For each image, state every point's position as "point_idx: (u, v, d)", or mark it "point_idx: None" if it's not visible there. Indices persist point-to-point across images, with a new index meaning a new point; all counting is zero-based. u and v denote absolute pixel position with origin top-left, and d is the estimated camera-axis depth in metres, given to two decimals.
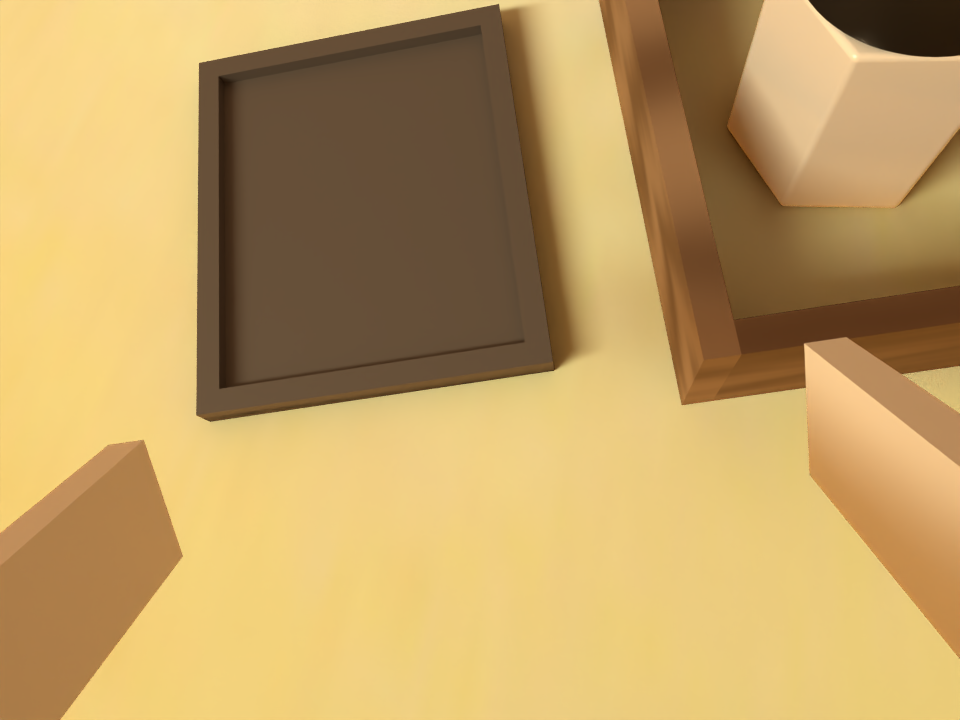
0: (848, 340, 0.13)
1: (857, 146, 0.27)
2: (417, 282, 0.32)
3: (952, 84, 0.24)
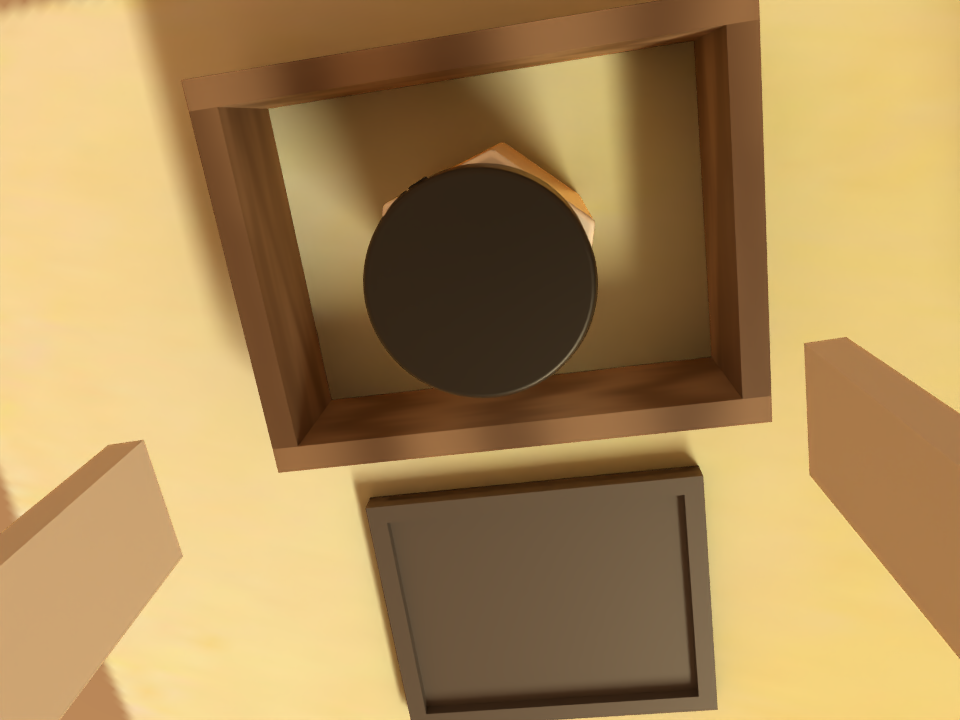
0: (849, 340, 0.13)
1: None
2: (620, 564, 0.41)
3: None
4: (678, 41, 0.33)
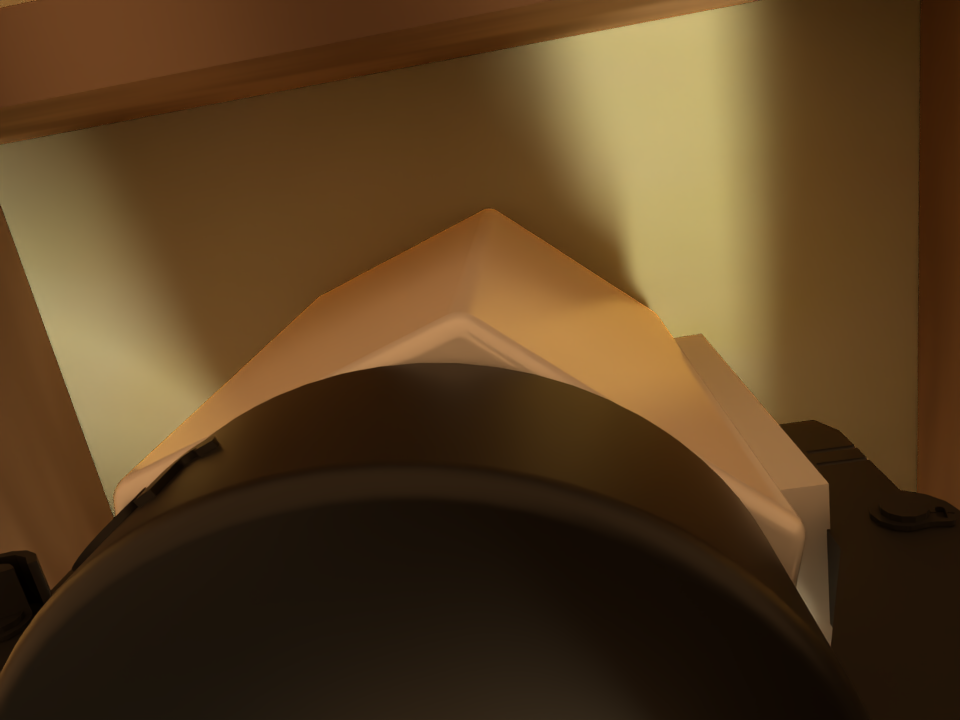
0: (702, 337, 0.15)
1: None
2: None
3: None
4: None
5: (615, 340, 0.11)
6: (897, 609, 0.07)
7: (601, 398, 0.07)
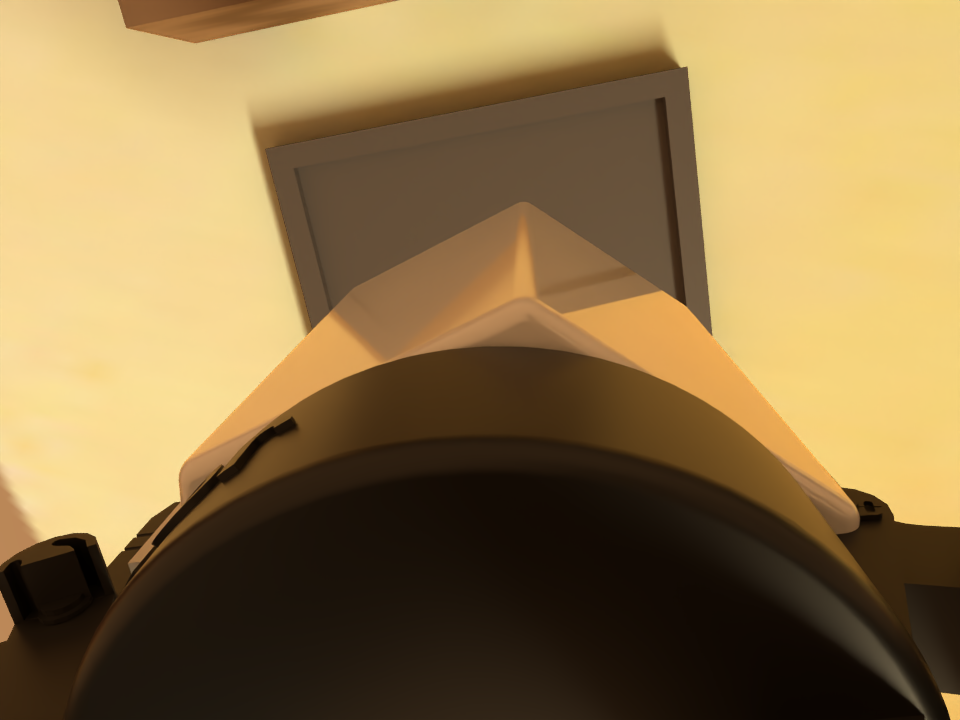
0: None
1: None
2: (589, 213, 0.33)
3: None
4: None
5: (660, 330, 0.11)
6: None
7: (665, 382, 0.08)
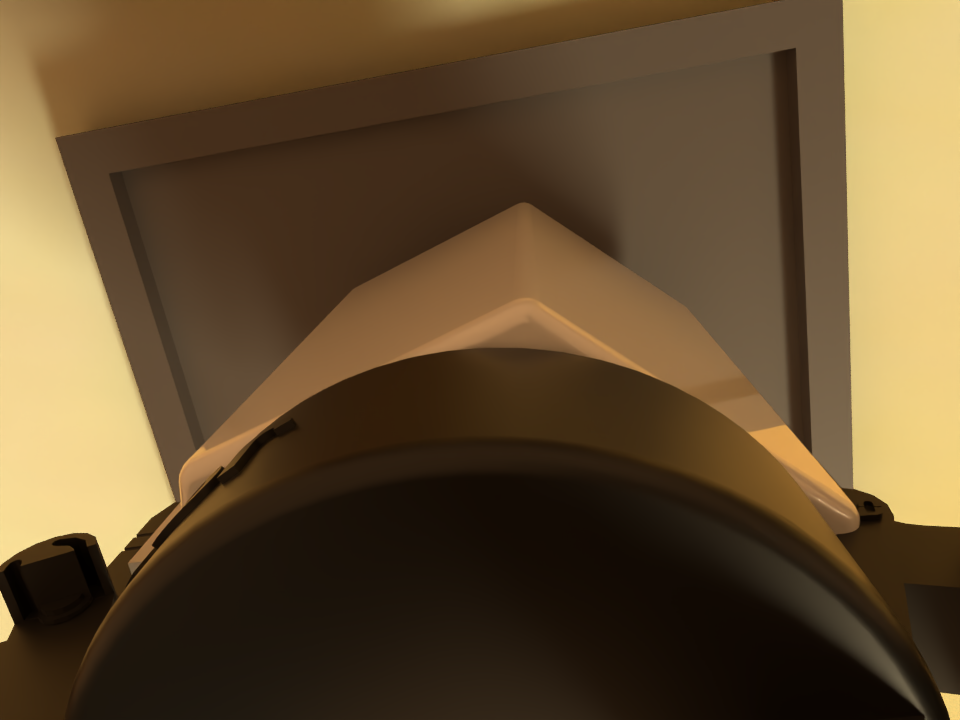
0: None
1: None
2: (642, 260, 0.18)
3: None
4: None
5: (660, 331, 0.11)
6: None
7: (665, 383, 0.08)
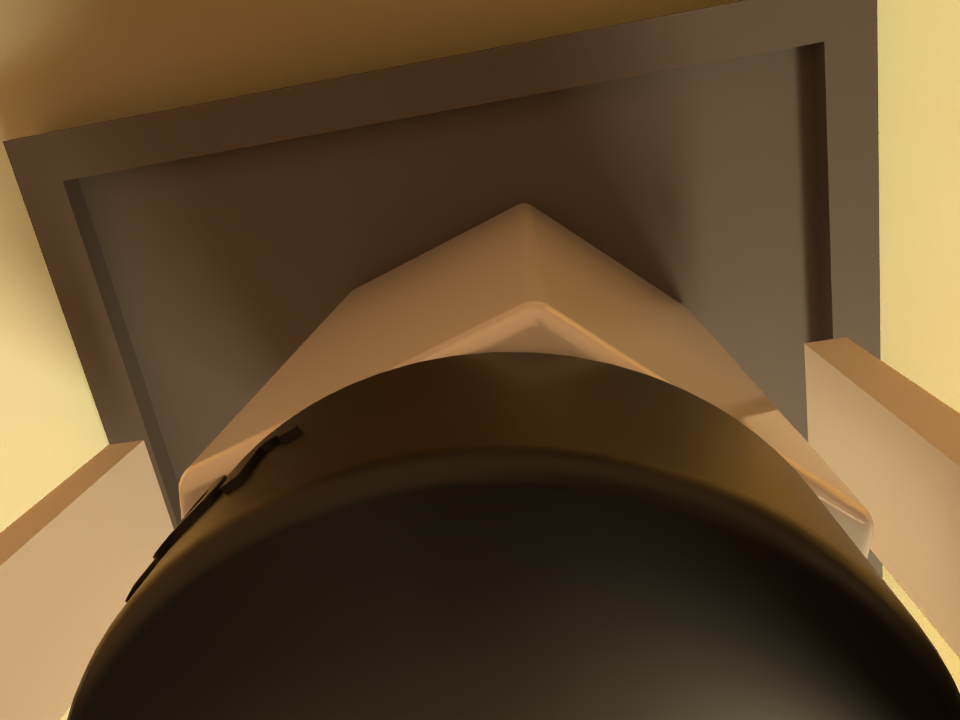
0: (849, 340, 0.13)
1: None
2: (652, 276, 0.17)
3: None
4: None
5: (666, 333, 0.11)
6: None
7: (677, 388, 0.07)
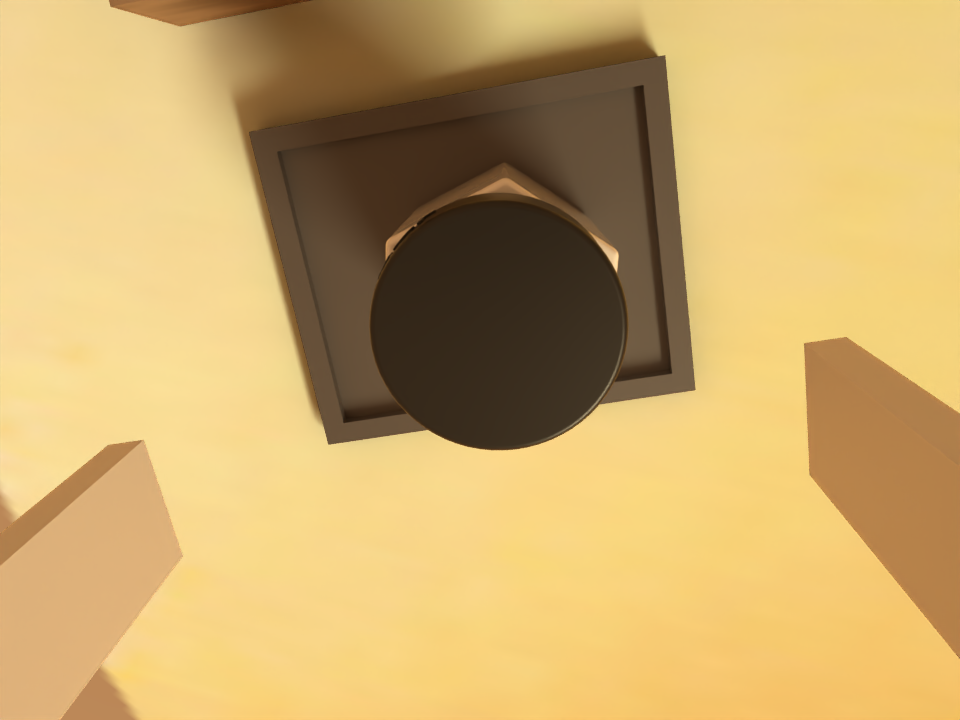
0: (848, 340, 0.13)
1: None
2: (569, 199, 0.34)
3: None
4: None
5: (560, 205, 0.28)
6: None
7: (549, 203, 0.24)
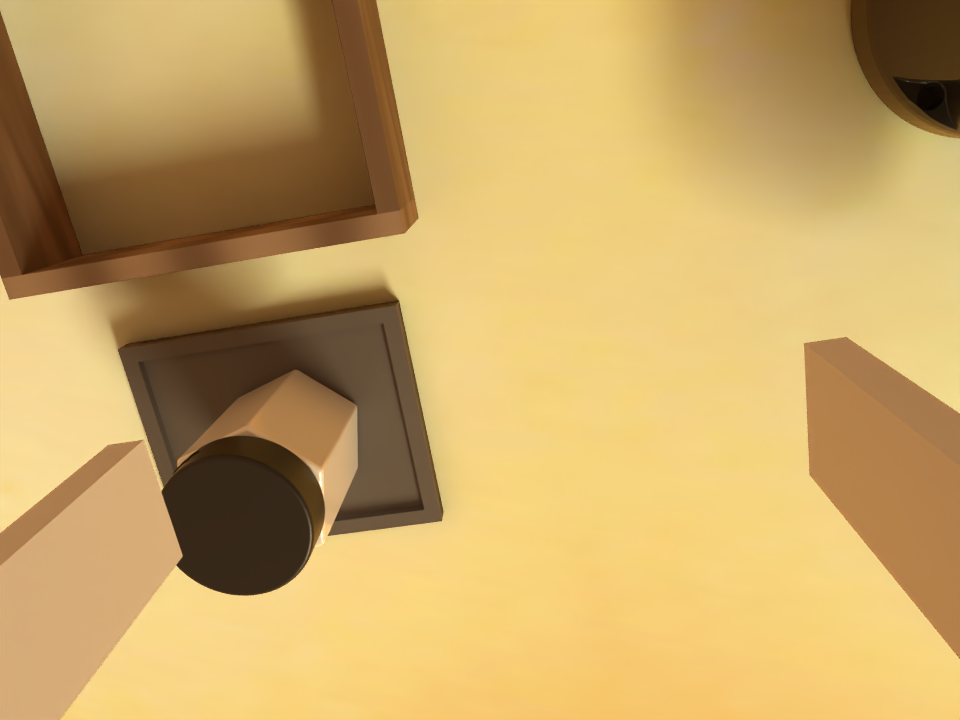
0: (848, 340, 0.13)
1: (343, 478, 0.45)
2: (343, 392, 0.48)
3: (328, 479, 0.41)
4: None
5: (304, 424, 0.42)
6: None
7: (273, 442, 0.39)
